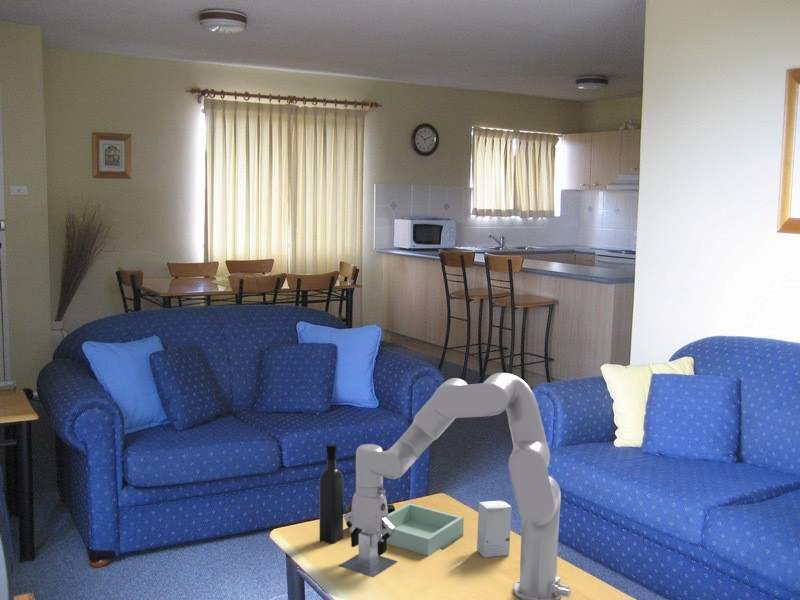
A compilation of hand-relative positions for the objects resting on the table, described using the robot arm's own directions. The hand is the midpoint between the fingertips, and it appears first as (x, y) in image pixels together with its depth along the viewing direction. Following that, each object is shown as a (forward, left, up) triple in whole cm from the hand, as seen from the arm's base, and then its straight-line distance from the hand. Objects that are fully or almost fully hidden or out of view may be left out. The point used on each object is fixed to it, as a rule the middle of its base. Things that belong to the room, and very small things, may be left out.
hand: (368, 549), depth 229 cm
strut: (0, 0, -4) cm, 4 cm away
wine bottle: (+19, -7, -5) cm, 21 cm away
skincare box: (-24, -29, -5) cm, 38 cm away
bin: (-1, -24, -5) cm, 25 cm away
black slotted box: (+15, -31, -6) cm, 35 cm away
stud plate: (0, 0, -5) cm, 5 cm away
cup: (+17, -17, -5) cm, 25 cm away
